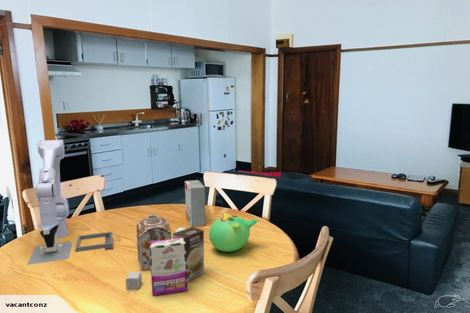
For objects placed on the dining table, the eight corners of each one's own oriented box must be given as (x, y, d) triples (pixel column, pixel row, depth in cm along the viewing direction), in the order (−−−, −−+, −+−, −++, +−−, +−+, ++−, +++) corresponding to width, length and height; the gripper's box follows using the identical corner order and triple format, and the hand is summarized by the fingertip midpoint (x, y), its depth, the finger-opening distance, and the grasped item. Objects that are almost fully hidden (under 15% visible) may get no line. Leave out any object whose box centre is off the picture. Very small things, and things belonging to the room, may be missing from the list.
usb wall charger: (141, 282, 117) (141, 271, 116) (136, 294, 110) (136, 282, 109) (129, 283, 116) (129, 271, 116) (123, 294, 110) (123, 282, 109)
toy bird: (225, 238, 155) (225, 206, 153) (259, 245, 146) (259, 212, 144) (201, 252, 140) (200, 217, 137) (237, 262, 131) (237, 225, 129)
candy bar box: (185, 283, 116) (184, 236, 113) (187, 291, 111) (186, 242, 109) (151, 288, 113) (149, 240, 110) (151, 296, 108) (149, 246, 106)
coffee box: (185, 284, 116) (184, 238, 113) (173, 278, 120) (171, 233, 117) (204, 273, 123) (204, 230, 120) (192, 268, 127) (191, 226, 124)
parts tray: (78, 241, 152) (78, 235, 152) (112, 237, 157) (112, 231, 156) (75, 254, 139) (75, 248, 138) (112, 249, 144) (112, 243, 143)
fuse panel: (36, 248, 145) (35, 240, 144) (73, 243, 149) (72, 235, 149) (27, 267, 128) (26, 258, 127) (68, 261, 133) (67, 252, 132)
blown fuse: (46, 249, 139) (44, 232, 138) (57, 247, 140) (56, 231, 139) (45, 252, 136) (43, 235, 135) (56, 250, 138) (55, 233, 137)
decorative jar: (137, 258, 135) (135, 213, 132) (167, 253, 139) (165, 210, 137) (140, 271, 124) (138, 223, 121) (173, 266, 128) (171, 219, 125)
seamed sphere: (186, 248, 144) (185, 231, 142) (170, 246, 146) (169, 229, 145) (196, 239, 153) (196, 223, 152) (181, 237, 155) (181, 222, 154)
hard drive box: (185, 217, 183) (184, 180, 180) (199, 216, 185) (199, 179, 182) (190, 227, 168) (189, 187, 165) (206, 226, 170) (205, 186, 167)
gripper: (40, 208, 141) (43, 240, 144) (32, 219, 128) (36, 254, 130) (59, 206, 144) (61, 237, 146) (54, 217, 130) (57, 251, 132)
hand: (51, 245), depth 138 cm, fingers closed on blown fuse, 3 cm apart
